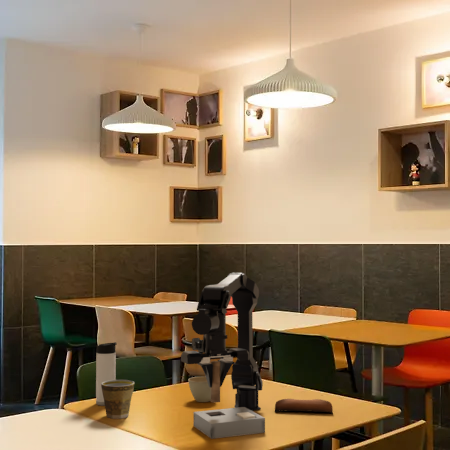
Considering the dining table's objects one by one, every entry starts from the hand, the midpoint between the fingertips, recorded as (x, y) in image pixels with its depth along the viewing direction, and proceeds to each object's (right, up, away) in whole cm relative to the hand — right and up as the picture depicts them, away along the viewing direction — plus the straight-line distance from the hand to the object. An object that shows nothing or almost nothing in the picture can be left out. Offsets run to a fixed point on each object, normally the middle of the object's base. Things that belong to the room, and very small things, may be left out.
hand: (215, 386), depth 189 cm
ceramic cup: (-31, -13, +17) cm, 38 cm away
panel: (+4, -12, +1) cm, 13 cm away
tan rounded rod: (0, -4, 0) cm, 4 cm away
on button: (+9, -10, 0) cm, 13 cm away
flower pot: (-5, -14, +37) cm, 40 cm away
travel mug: (-36, -14, +32) cm, 51 cm away
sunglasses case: (+28, -14, +23) cm, 39 cm away
